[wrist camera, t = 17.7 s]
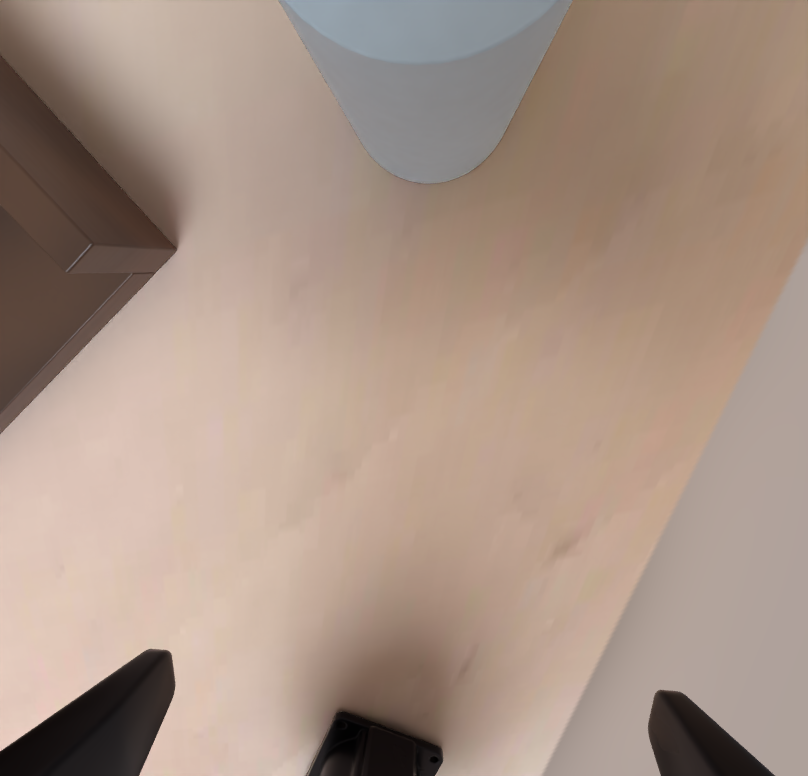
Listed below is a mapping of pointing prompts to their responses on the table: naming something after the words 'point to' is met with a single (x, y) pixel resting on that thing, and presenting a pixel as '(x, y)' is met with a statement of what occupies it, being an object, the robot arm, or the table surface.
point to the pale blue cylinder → (427, 73)
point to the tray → (59, 246)
